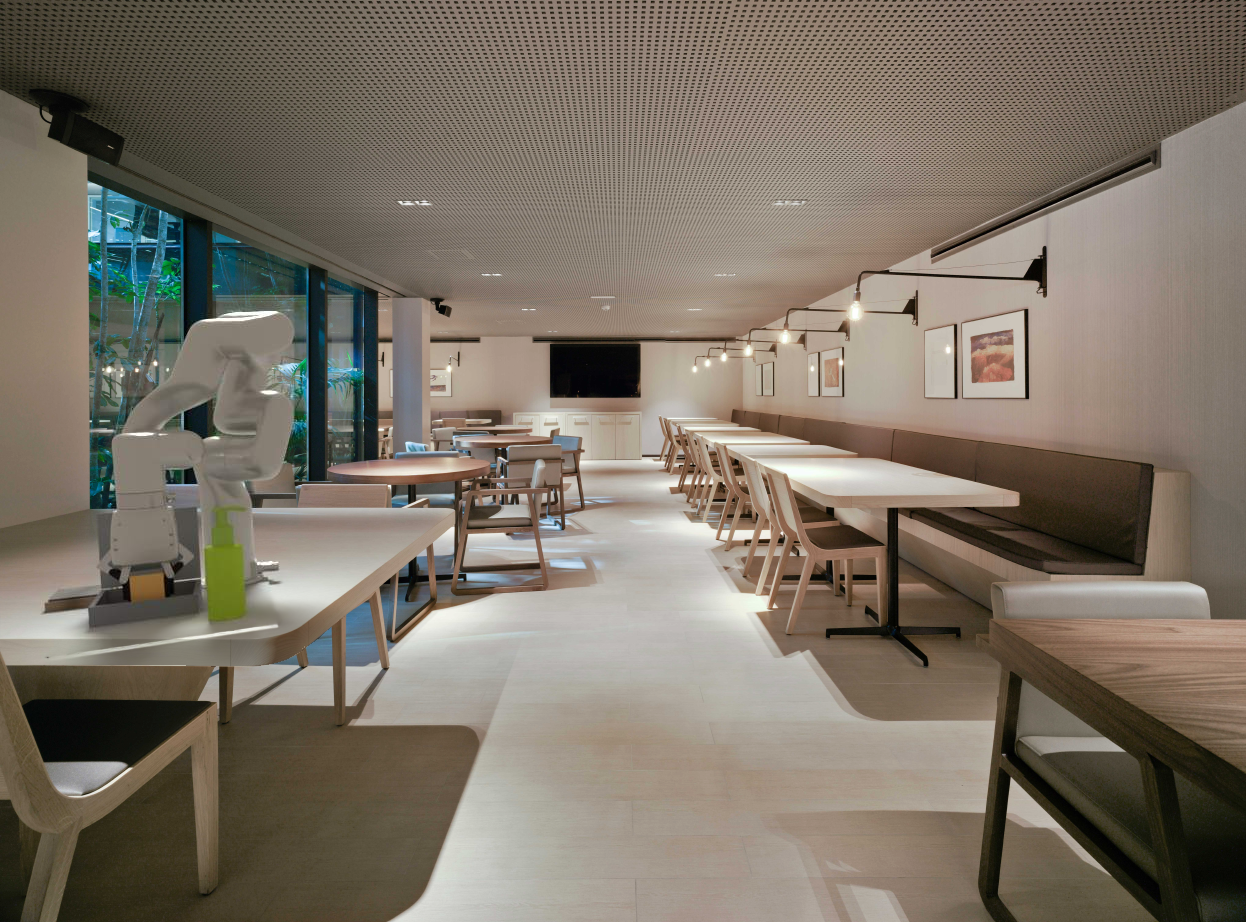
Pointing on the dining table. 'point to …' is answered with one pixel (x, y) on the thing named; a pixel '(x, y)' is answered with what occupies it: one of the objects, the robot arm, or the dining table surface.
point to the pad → (73, 598)
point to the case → (144, 605)
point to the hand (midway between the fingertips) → (149, 599)
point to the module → (147, 582)
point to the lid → (191, 570)
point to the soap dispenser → (224, 570)
